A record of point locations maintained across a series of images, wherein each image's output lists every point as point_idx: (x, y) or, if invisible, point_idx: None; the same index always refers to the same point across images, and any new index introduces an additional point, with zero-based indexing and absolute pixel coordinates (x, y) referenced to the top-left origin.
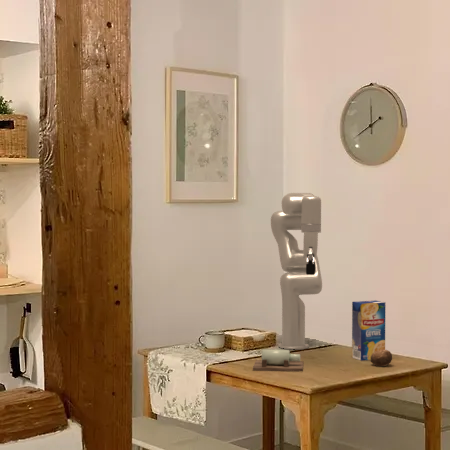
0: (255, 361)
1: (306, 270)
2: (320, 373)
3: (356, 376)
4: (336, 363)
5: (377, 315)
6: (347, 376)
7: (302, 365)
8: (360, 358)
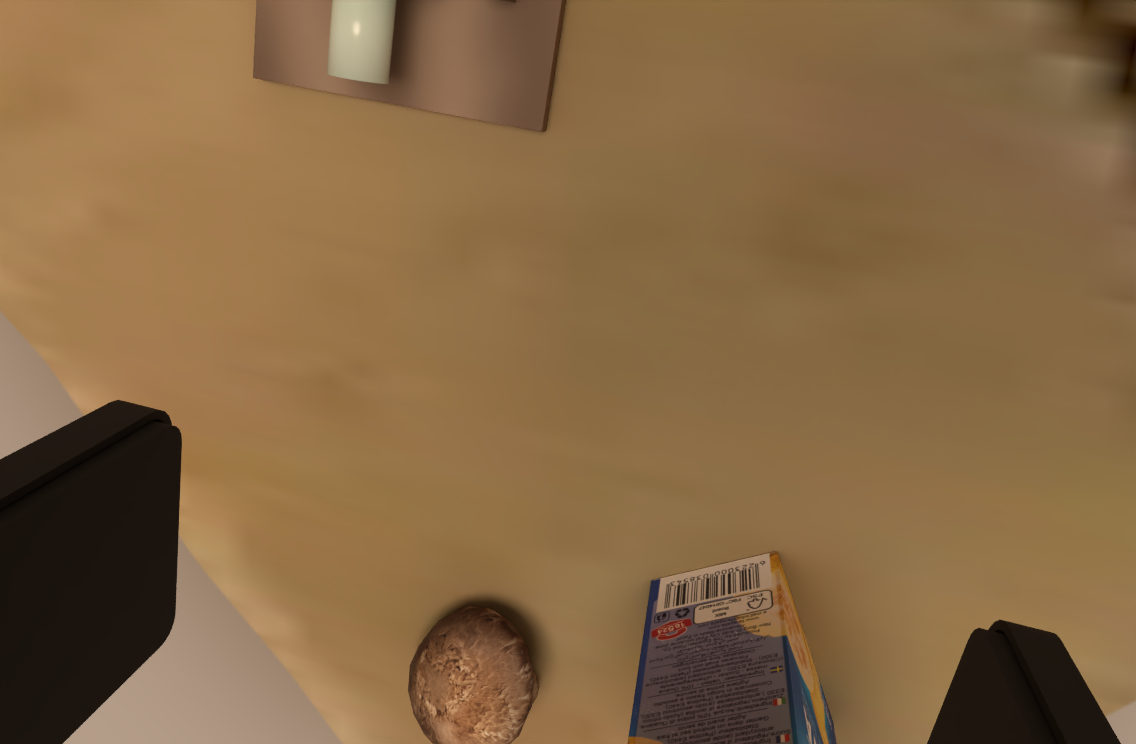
0: None
1: (41, 450)
2: (214, 201)
3: None
4: (559, 388)
5: None
6: (141, 358)
7: (376, 96)
8: (662, 584)
